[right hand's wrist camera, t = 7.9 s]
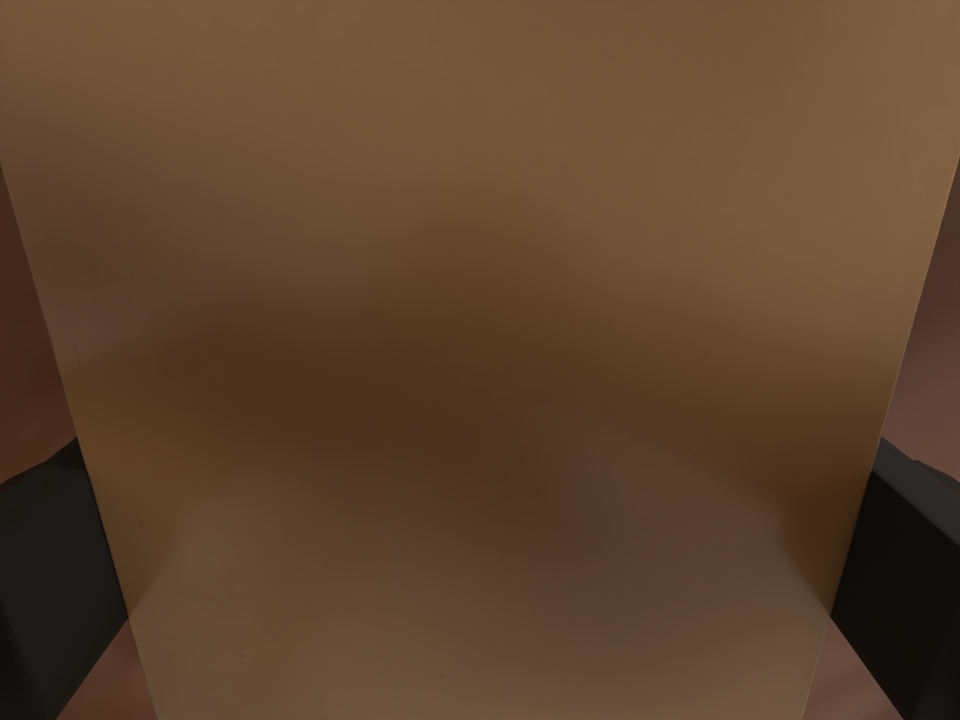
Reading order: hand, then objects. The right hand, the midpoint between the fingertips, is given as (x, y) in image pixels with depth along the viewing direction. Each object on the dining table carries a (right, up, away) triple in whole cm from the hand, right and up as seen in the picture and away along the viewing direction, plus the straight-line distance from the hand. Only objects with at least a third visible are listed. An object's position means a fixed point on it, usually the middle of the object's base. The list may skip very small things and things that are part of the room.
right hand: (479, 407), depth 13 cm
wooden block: (0, +4, +4) cm, 6 cm away
